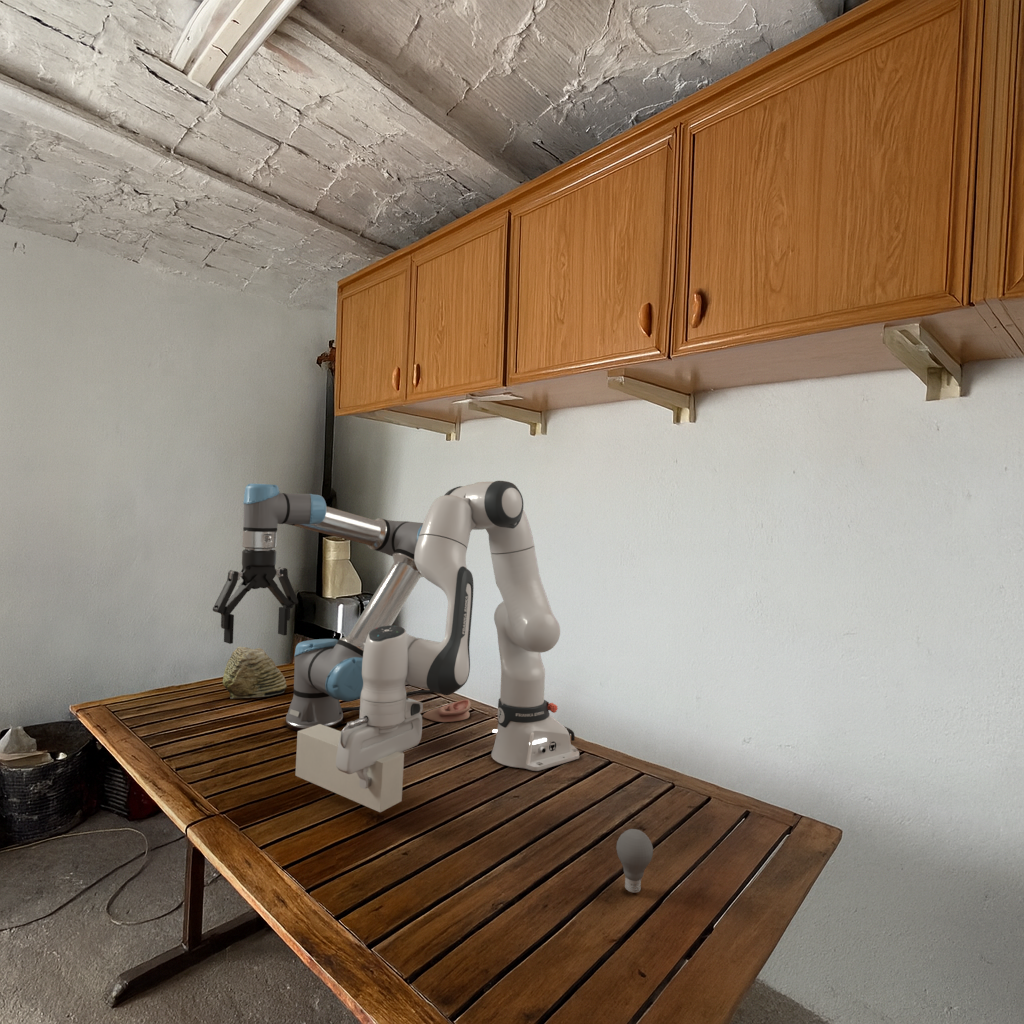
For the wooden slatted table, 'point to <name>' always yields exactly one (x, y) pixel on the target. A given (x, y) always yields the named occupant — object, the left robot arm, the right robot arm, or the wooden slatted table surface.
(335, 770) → the bar
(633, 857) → the light bulb
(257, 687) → the fossil
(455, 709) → the anatomical model
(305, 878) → the wooden slatted table surface
